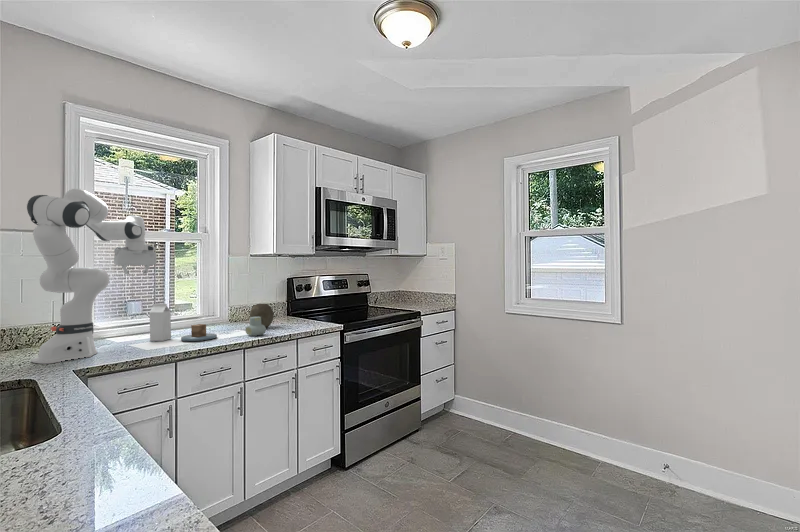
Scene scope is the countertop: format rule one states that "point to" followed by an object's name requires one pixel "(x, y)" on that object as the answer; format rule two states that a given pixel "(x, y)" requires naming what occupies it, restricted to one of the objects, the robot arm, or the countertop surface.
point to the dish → (190, 338)
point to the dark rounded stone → (263, 313)
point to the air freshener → (255, 327)
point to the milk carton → (160, 322)
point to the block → (198, 330)
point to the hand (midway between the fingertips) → (136, 273)
